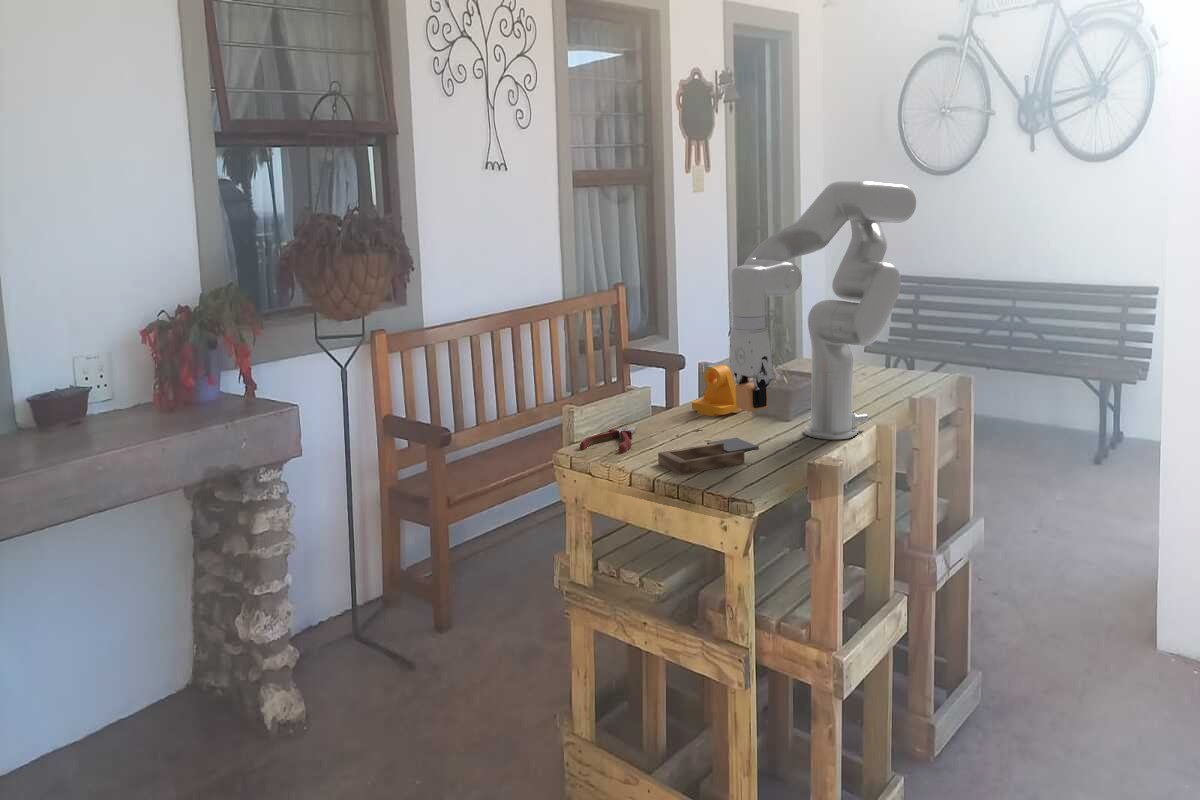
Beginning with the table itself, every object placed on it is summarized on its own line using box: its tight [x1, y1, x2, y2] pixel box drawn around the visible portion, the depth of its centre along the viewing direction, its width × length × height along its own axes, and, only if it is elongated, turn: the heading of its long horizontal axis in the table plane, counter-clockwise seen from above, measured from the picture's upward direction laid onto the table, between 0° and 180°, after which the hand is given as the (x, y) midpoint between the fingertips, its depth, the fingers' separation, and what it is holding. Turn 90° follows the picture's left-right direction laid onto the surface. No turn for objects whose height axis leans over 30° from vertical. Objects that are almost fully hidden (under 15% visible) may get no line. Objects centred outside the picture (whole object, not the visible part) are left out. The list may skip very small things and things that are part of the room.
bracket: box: [691, 364, 741, 417], centre depth 269 cm, size 11×7×12 cm, turn 43°
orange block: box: [735, 381, 769, 412], centre depth 228 cm, size 5×5×5 cm
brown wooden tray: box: [657, 442, 745, 475], centre depth 225 cm, size 16×9×2 cm, turn 116°
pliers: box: [579, 426, 639, 454], centre depth 246 cm, size 12×20×3 cm, turn 158°
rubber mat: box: [706, 437, 759, 454], centre depth 237 cm, size 8×9×1 cm
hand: (752, 403), depth 229 cm, fingers closed on orange block, 5 cm apart
